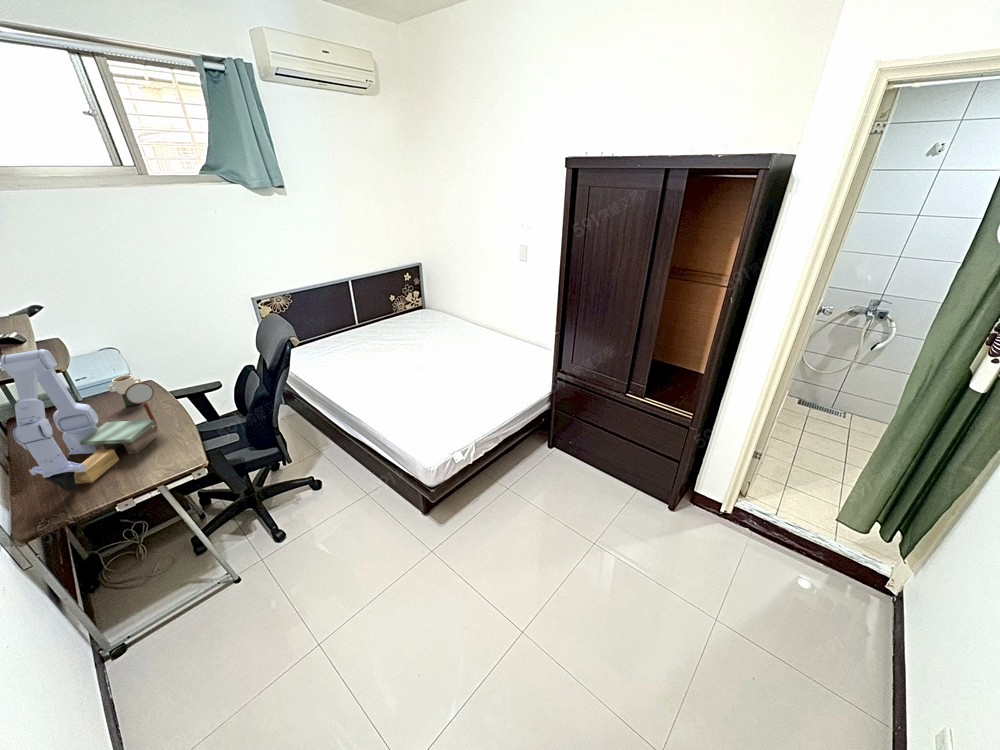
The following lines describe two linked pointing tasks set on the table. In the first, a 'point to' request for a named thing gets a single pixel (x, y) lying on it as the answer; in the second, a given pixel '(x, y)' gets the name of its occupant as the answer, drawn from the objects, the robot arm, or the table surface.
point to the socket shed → (122, 436)
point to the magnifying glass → (140, 396)
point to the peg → (96, 466)
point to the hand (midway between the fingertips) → (71, 489)
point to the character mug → (123, 386)
